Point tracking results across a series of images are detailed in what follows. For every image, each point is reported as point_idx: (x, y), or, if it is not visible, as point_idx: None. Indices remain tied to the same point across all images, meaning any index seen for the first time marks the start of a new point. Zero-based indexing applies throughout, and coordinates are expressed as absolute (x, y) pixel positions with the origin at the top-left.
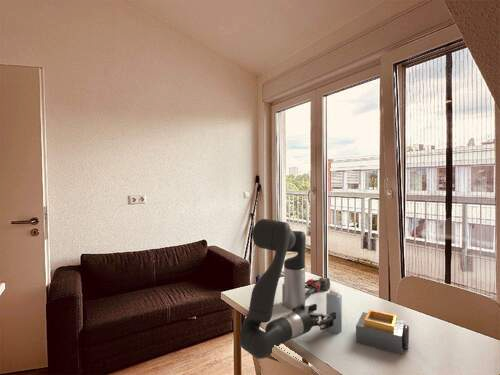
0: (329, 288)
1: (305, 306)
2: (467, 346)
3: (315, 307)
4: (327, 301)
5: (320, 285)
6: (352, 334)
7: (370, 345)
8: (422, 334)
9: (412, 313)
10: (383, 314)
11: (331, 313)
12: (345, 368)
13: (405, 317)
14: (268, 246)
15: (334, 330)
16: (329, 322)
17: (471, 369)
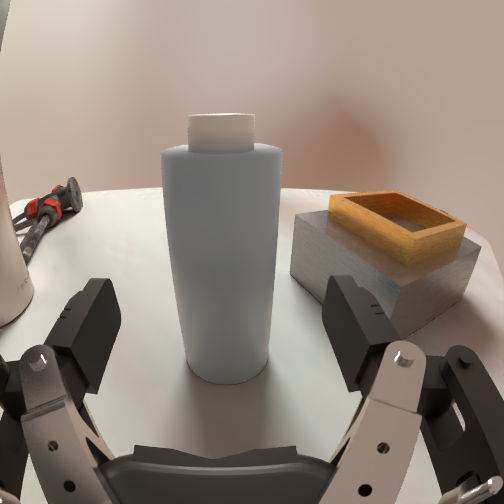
0: (82, 205)
1: (20, 376)
2: None
3: (110, 310)
4: (194, 210)
5: (59, 203)
6: (310, 325)
7: (414, 329)
8: None
9: (294, 192)
10: (374, 197)
11: (360, 307)
12: None
13: (301, 202)
14: None
15: (256, 366)
16: (433, 410)
17: (491, 254)
